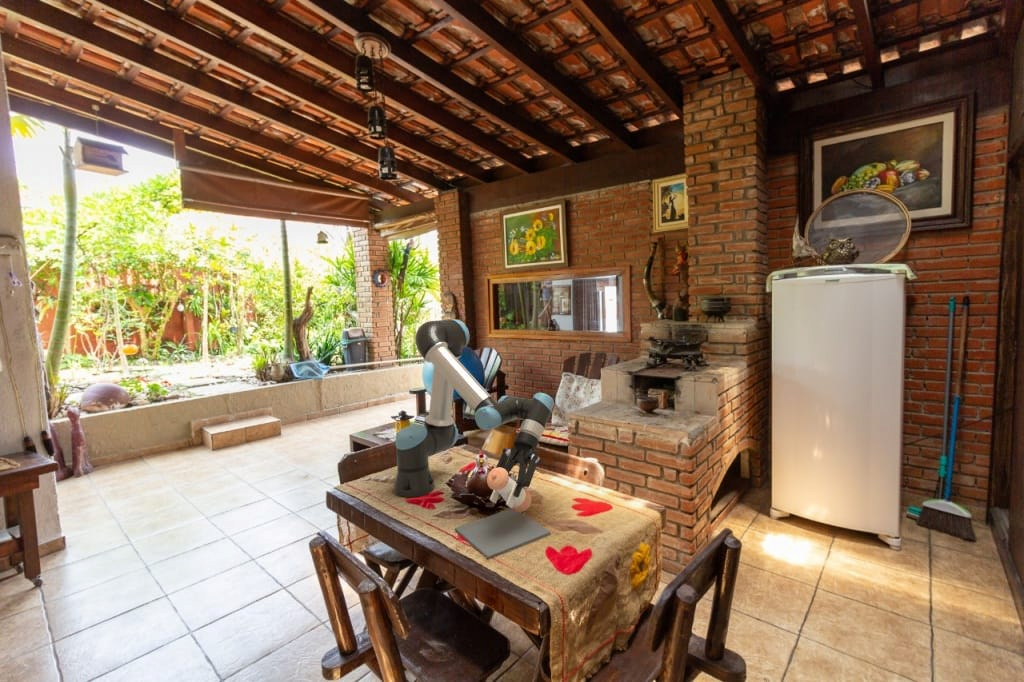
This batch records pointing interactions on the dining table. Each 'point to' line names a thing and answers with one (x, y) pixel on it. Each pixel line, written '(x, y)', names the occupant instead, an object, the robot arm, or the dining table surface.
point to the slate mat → (501, 532)
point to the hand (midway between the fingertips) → (500, 503)
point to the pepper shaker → (508, 488)
